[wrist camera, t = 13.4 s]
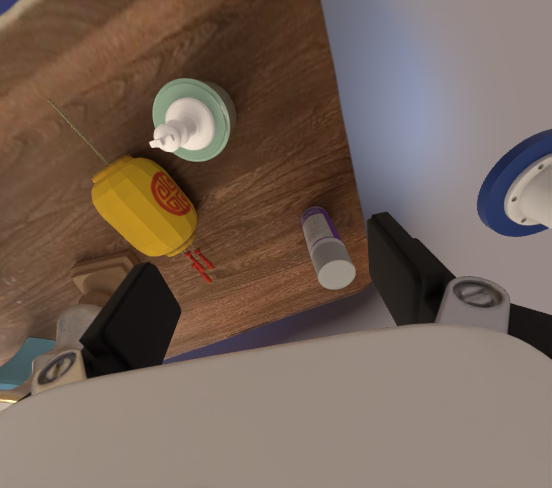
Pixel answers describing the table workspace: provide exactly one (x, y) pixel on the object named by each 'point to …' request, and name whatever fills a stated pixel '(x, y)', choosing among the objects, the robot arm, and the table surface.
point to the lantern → (145, 206)
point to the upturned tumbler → (216, 104)
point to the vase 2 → (23, 362)
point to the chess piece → (185, 126)
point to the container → (326, 249)
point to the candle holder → (79, 310)
